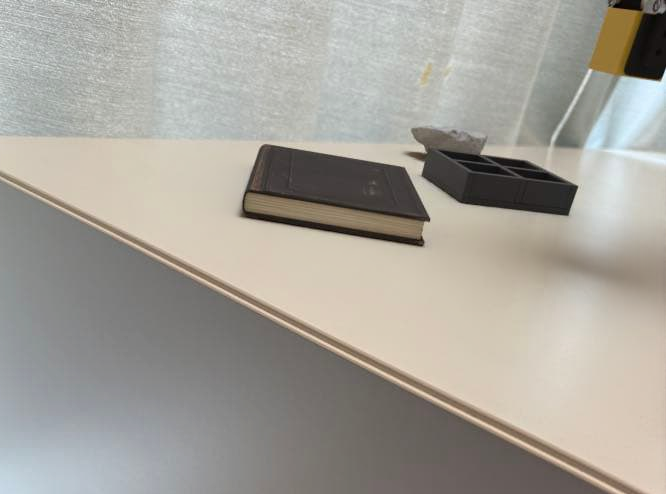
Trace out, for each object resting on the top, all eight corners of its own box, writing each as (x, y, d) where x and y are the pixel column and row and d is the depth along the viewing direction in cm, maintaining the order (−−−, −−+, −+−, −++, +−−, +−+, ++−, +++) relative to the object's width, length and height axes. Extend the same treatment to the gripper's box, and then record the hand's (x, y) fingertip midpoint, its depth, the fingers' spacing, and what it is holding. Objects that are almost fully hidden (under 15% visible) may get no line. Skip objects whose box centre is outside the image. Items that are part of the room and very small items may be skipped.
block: (632, 75, 65) (653, 14, 63) (661, 82, 62) (685, 19, 60) (587, 68, 64) (607, 7, 62) (614, 75, 61) (637, 10, 59)
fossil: (402, 125, 108) (471, 102, 108) (409, 175, 111) (476, 153, 111) (423, 130, 101) (497, 106, 100) (430, 183, 104) (502, 160, 104)
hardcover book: (400, 189, 86) (405, 167, 85) (423, 245, 68) (430, 218, 66) (256, 165, 86) (259, 142, 84) (240, 215, 67) (244, 187, 66)
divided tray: (519, 187, 98) (527, 160, 97) (568, 215, 88) (578, 186, 86) (421, 174, 96) (427, 147, 94) (460, 202, 85) (469, 172, 83)
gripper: (879, -252, 47) (730, 95, 57) (704, -210, 60) (610, 66, 70) (774, -282, 45) (642, 81, 56) (619, -231, 58) (536, 55, 69)
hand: (625, 70), depth 63 cm, fingers closed on block, 4 cm apart
